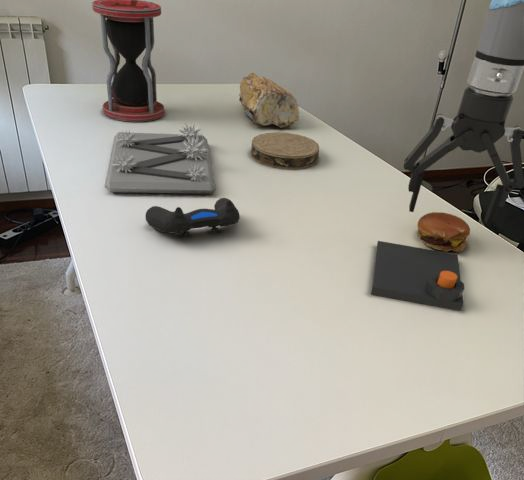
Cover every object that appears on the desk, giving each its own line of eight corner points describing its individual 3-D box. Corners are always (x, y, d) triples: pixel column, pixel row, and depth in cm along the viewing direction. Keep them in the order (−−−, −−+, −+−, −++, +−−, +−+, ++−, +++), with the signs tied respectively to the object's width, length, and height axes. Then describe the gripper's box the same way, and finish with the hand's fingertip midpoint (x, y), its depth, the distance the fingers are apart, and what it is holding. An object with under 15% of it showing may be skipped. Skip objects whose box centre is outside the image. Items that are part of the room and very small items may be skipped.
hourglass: (177, 115, 149) (175, 7, 133) (129, 126, 139) (120, 11, 123) (138, 100, 156) (132, -4, 140) (90, 110, 146) (77, -1, 131)
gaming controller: (147, 241, 99) (161, 237, 90) (141, 208, 98) (154, 201, 89) (233, 228, 105) (253, 223, 96) (228, 198, 104) (248, 190, 95)
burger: (429, 224, 108) (436, 202, 105) (474, 242, 103) (482, 219, 100) (404, 241, 102) (411, 217, 99) (450, 260, 97) (458, 236, 94)
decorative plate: (115, 141, 129) (112, 110, 125) (206, 144, 133) (207, 113, 128) (105, 195, 107) (101, 158, 102) (215, 197, 110) (216, 161, 106)
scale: (455, 261, 97) (460, 246, 95) (461, 311, 85) (467, 295, 83) (376, 247, 99) (379, 232, 97) (370, 295, 86) (374, 278, 84)
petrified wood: (231, 106, 157) (240, 68, 152) (273, 116, 162) (283, 80, 157) (250, 126, 143) (260, 85, 137) (295, 136, 148) (307, 97, 142)
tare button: (453, 281, 86) (457, 272, 85) (454, 290, 84) (458, 280, 83) (436, 278, 87) (440, 269, 85) (437, 287, 85) (440, 277, 83)
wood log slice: (305, 174, 123) (307, 161, 121) (240, 159, 127) (241, 146, 125) (325, 153, 135) (327, 140, 133) (265, 140, 138) (266, 128, 137)
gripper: (410, 83, 85) (379, 211, 98) (578, 108, 82) (522, 237, 95) (410, 73, 90) (381, 195, 104) (567, 96, 88) (516, 218, 101)
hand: (448, 215), depth 99 cm, fingers open, 13 cm apart
